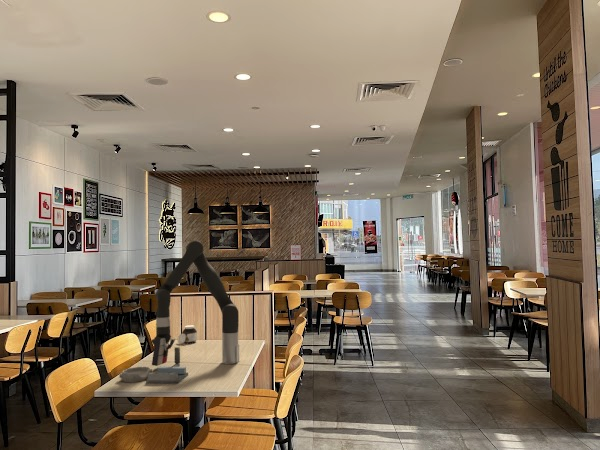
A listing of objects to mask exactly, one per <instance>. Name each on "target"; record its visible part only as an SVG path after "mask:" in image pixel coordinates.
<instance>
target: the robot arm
mask: <svg viewBox="0 0 600 450" xmlns="http://www.w3.org/2000/svg"><path fill="white" fill-rule="evenodd" d="M192 264H194V265H195V267H196V269H197V271H198V273H199V276H200V277H201V279H202V282H203V283H204V285H205V286H206V288H207V290H208V292H209V293H210V294H211V295H212V297H213V298H214V300H215V301H216V302H217V305H218V307H219V309H220V311H221V315H222V316H221V319H222V321H221V322H222V325H221V326H222V327H221V328H222V329H221V338H222V339H221V341H222V345H221V347H222V349H221V351H222V353H221V354H222V355H221V356H222V357H221V358H222V362H221V363H223V364H227V365H231V364H233V365H234V364H238V363H239V362H240V344H239V325H240V324H239V310H238V308H237V305H235V303H234V302H233V301H232V299H231V298H230V296H229V294H228V293H227V290H226V288H225V285H224V282H223V281H222V279H221V278H220V275H219V274H218V272H217V271H216V269H215V268H214V267H213V266H212V265H211V263H210V262H209V261H208V259H207V258H206V255H205V253H204V244H203V243H202V242H201V241H200V240H192V241H190V242H189V243H188V244H187V245H186V247H185V252H184V254H183V256H182V258H181V259H180V261H178V263H177V265H176V266H175V267H174V268H173V270H171V272H170V273H169V275H168V276H167V277H166V280H165V281H164V282H163V284H161V285H160V286H159V288H158V289H157V290H156V292H155V299H156V301H157V308H156V319H155V332H156V333H155V337H164V357H167V358H168V356H169V354H168V353H169V350H171V348H172V347H173V345H174V343H175V342H176V338H173V337H172V335H171V319H170V314H171V313H170V311H171V310H170V306H171V301H172V300H171V293H172V291H173V290H174V289H176V288H177V287H178V285H179V284H180V282H181V281H182V279H183V278H184V277H185V275H186V273H187V272H188V270H189V268H190V267H191V265H192ZM168 342H169V346H168ZM151 343H152V344H153V346H154V338H153V339H151ZM167 355H168V356H167Z"/></svg>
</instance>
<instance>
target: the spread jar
mask: <svg viewBox="0 0 600 450" xmlns="http://www.w3.org/2000/svg"><path fill="white" fill-rule="evenodd" d="M197 340H198V331H197V330H196V328H195V325H192V324H191V325H190V324H189V325H184V329H183V330H182V332H181V333H180V334H179V335H178V337H177V343H178V344H179V345H183V344H189V345H191V344H195V343H196V342H197Z"/></svg>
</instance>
